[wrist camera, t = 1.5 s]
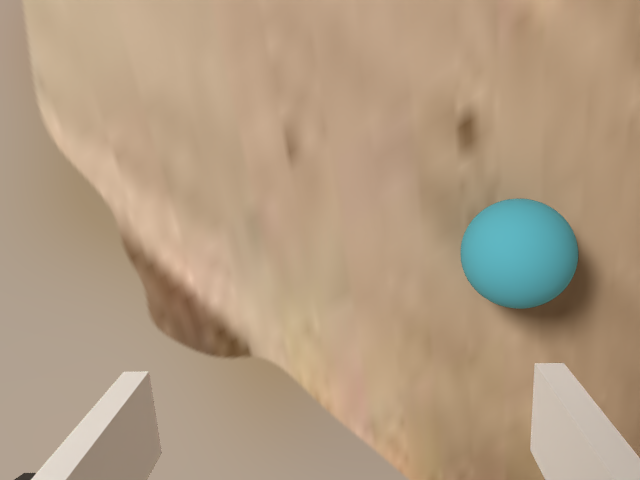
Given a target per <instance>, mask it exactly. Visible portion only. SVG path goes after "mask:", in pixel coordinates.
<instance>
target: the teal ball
mask: <svg viewBox="0 0 640 480" xmlns="http://www.w3.org/2000/svg"><path fill="white" fill-rule="evenodd" d="M461 262H462V267H463V270H464V273H465V275H466V277H467V279H468V281H469V282H470V284H471V285H472V286H473V287H474V289H475V290H476V291H477V292H478V293H479V294H481V295H482V296H483V297H484V298H486V299H488V300H489V301H491V302H493V303H495V304H498V305H501V306H504V307H509V308H518V309H523V308H531V307H536V306H539V305H542V304H545V303H547V302H549V301H551V300H552V299H554V298H555V297H557V296H558V295H559V294H560V293H561V292H562V291H563V290H564V289H565V288H566V287H567V286H568V284H569V283H570V281H571V280H572V278H573V276H574V273H575V271H576V267H577V263H578V246H577V241H576V238H575V235H574V233H573V230H572V229H571V227H570V225H569V224H568V222H567V221H566V220H565V219H564V218H563V216H561V215H560V214H559V213H558V212H557V211H555V210H554V209H552V208H551V207H549V206H547V205H545V204H543V203H540V202H537V201H534V200H529V199H509V200H504V201H500V202H497V203H495V204H493V205H491V206H489V207H487V208H486V209H484V210H483V211H481V212H480V213H479V214H478V215H477V216H476V217H475V218H474V219H473V220H472V221H471V223H470V224H469V226H468V227H467V229H466V231H465V234H464V236H463V239H462V244H461Z"/></svg>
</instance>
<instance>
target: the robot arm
mask: <svg viewBox="0 0 640 480" xmlns="http://www.w3.org/2000/svg"><path fill="white" fill-rule="evenodd" d="M530 450H531V452H532V454H533V456H534V458H535V460H536V462H537V464H538V466H539V468H540V470H541V472H542V474H543V476H544V478H545V480H640V458H639V457H638V455H637V454H636V453H635V452H634V450H633V449H632V448H631V447H630V445H629V444H628V443H627V442H626V440H625V439H624V438H623V437H622V435H621V434H620V433H619V432H618V430H617V429H616V428H615V427H614V425H613V424H612V423H611V422H610V420H609V419H608V418H607V417H606V415H605V414H604V413H603V412H602V410H601V409H600V408H599V407H598V405H597V404H596V403H595V402H594V400H593V399H592V398H591V397H590V395H589V394H588V393H587V392H586V390H585V389H584V388H583V387H582V385H581V384H580V383H579V382H578V380H577V379H576V378H575V377H574V375H573V374H572V373H571V372H570V370H569V369H568V368H567V367H566V365H565V364H564V363H535V369H534V388H533V408H532V428H531V448H530ZM161 453H162V452H161V445H160V439H159V433H158V427H157V420H156V413H155V407H154V401H153V395H152V388H151V382H150V375H149V372H147V371H146V372H123V373H122V374H121V376H120V377H119V378H118V379H117V380H116V381H115V382H114V384H113V385H112V386H111V387H110V388H109V389H108V391H107V392H106V393H105V394H104V395H103V396H102V398H101V399H100V400H99V401H98V402H97V403H96V405H95V406H94V407H93V408H92V409H91V410H90V412H89V413H88V414H87V415H86V416H85V417H84V419H83V420H82V421H81V422H80V423H79V424H78V425H77V427H76V428H75V429H74V430H73V431H72V432H71V434H70V435H69V436H68V437H67V438H66V439H65V441H64V442H63V443H62V444H61V445H60V446H59V448H58V449H57V450H56V451H55V452H54V453H53V455H52V456H51V457H50V458H49V459H48V460H47V461H46V463H45V464H44V465H43V466H42V467H41V468H40V470H39V471H38V472H37V473H24V474H22V475H21V476H19V477H18V478H16V479H15V480H147V479H148V477H149V475H150V473H151V472H152V470H153V468H154V466H155V464H156V462H157V461H158V459H159V457H160V455H161Z"/></svg>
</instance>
